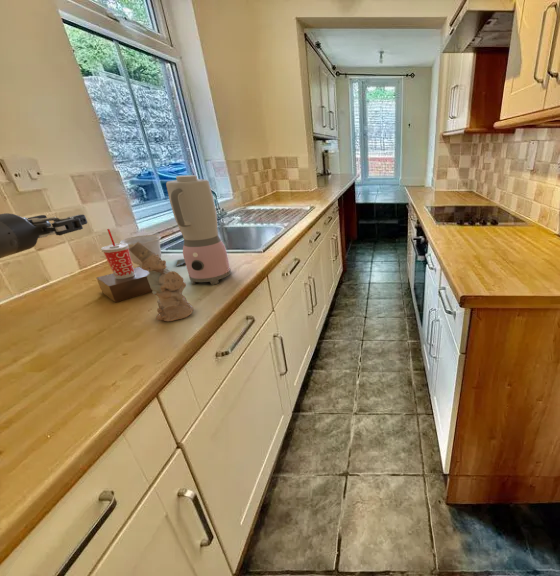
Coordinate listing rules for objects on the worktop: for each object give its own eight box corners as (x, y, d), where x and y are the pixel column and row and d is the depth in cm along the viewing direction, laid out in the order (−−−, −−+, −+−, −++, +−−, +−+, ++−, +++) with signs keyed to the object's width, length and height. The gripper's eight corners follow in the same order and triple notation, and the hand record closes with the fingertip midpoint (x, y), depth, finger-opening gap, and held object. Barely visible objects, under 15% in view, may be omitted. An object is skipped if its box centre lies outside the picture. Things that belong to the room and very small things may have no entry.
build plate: (176, 266, 115) (172, 254, 113) (178, 261, 121) (174, 249, 119) (214, 261, 120) (211, 249, 118) (214, 255, 126) (211, 244, 124)
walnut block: (115, 302, 89) (109, 286, 87) (102, 293, 95) (96, 277, 93) (159, 289, 97) (154, 274, 95) (144, 281, 103) (139, 266, 101)
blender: (202, 271, 110) (177, 174, 97) (237, 271, 111) (217, 174, 97) (176, 290, 96) (143, 179, 83) (217, 289, 96) (190, 179, 83)
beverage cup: (113, 281, 90) (94, 233, 84) (111, 275, 94) (93, 229, 88) (139, 276, 93) (123, 229, 88) (136, 270, 97) (120, 225, 92)
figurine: (146, 322, 79) (118, 244, 70) (172, 306, 86) (149, 234, 78) (179, 324, 78) (154, 245, 69) (202, 308, 85) (182, 235, 77)
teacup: (117, 267, 115) (107, 240, 110) (165, 258, 124) (157, 233, 120) (120, 276, 106) (110, 248, 102) (171, 266, 116) (163, 239, 111)
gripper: (24, 217, 59) (91, 202, 74) (-59, 218, 58) (25, 203, 73) (42, 255, 62) (103, 234, 77) (-37, 257, 61) (40, 235, 76)
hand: (65, 219), depth 75 cm, fingers open, 8 cm apart
